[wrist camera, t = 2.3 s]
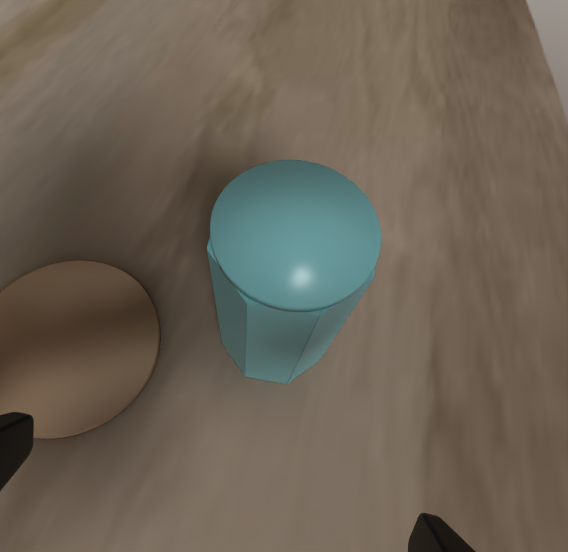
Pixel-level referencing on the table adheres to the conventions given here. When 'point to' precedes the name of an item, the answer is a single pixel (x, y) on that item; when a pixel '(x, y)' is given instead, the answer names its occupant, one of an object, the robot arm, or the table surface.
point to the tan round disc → (75, 346)
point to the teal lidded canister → (288, 264)
